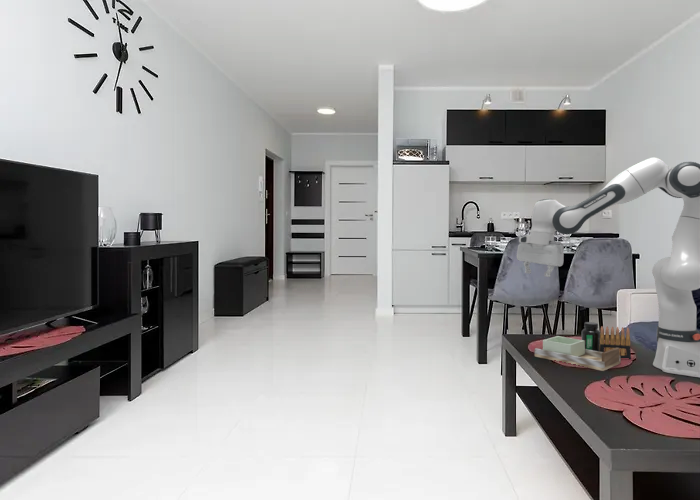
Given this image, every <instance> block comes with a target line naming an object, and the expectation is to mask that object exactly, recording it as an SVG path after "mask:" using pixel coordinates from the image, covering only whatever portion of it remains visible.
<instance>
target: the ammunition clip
mask: <svg viewBox="0 0 700 500" xmlns="http://www.w3.org/2000/svg"><path fill="white" fill-rule="evenodd" d="M610 328H611V329H609V326H606V328H605V331H604V327H603V325H602V326H600V330H599V331H600V346H599V352H606V351H608V350H611V349H614V348H616V347H617V348H619V355H620V356H621V358H629V359H628V360H631V359H632V356H631V354H632V353H631V351H632V350H631V333H630V332H631V331H630V328H629V327H627V328H626V331H625V328H624V327H621V331H620V329H619V327H618V326H617V327H616V329H614V326H611V327H610Z"/></svg>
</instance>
